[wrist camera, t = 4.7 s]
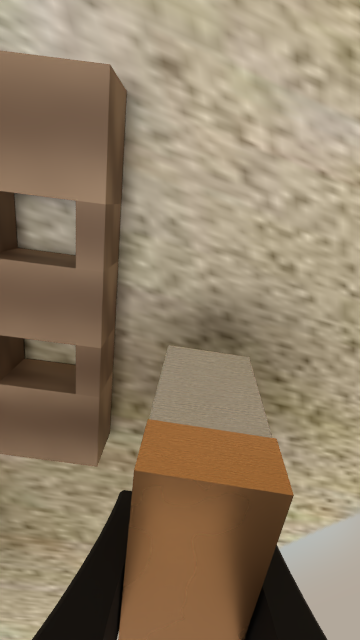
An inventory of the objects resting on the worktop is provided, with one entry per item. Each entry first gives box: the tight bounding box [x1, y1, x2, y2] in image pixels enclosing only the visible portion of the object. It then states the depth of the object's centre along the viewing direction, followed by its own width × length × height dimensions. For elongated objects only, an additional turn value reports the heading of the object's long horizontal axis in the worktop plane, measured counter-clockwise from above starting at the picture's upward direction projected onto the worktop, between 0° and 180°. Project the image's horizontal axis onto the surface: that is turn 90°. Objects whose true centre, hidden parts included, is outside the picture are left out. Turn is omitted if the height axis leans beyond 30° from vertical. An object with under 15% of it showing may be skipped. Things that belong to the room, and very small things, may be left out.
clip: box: [118, 345, 294, 640], centre depth 10 cm, size 9×3×6 cm, turn 173°
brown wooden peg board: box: [0, 51, 127, 466], centre depth 17 cm, size 20×7×3 cm, turn 173°
